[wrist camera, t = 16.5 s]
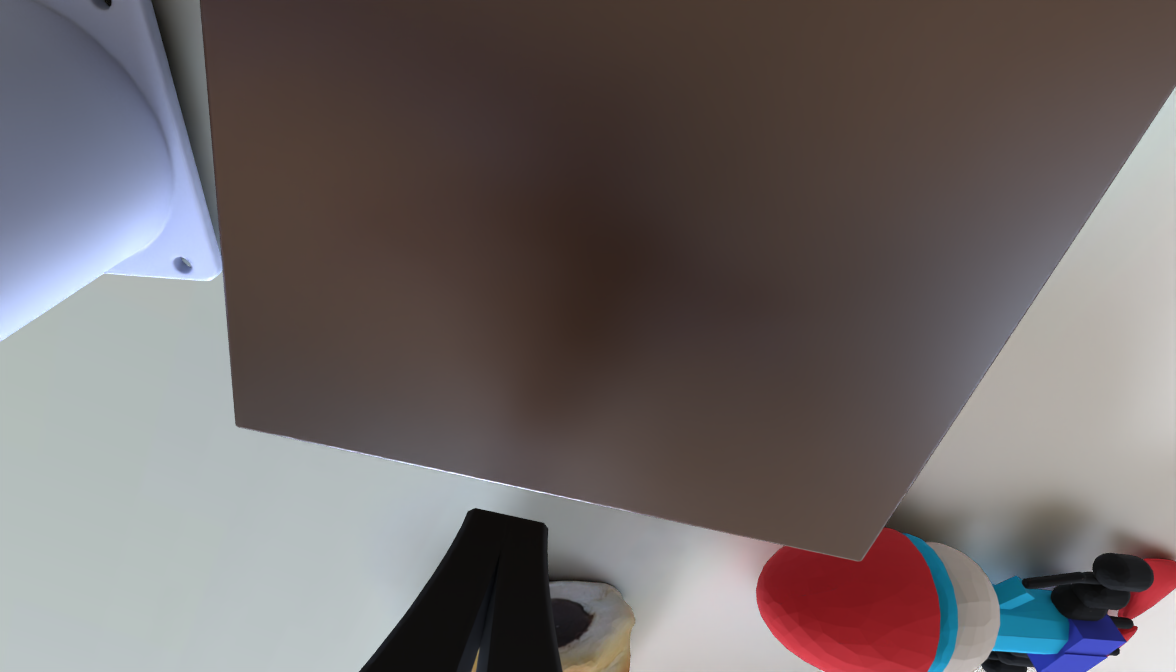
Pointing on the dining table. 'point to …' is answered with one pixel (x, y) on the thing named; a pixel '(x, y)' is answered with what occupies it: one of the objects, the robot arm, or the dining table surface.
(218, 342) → the dining table surface
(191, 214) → the robot arm
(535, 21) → the cabinet
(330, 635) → the dining table surface
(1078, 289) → the dining table surface
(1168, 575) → the toy figure
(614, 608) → the pastry
